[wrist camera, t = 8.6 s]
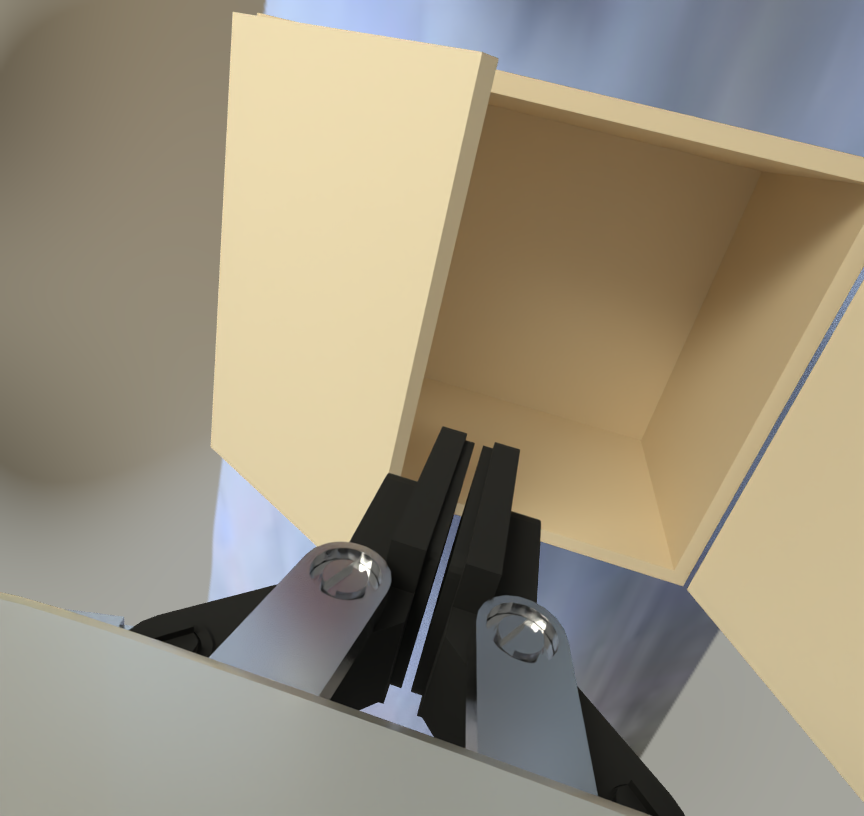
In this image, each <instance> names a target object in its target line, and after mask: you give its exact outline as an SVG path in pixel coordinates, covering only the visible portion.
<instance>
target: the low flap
mask: <svg viewBox="0 0 864 816" xmlns="http://www.w3.org/2000/svg"><path fill="white" fill-rule="evenodd" d="M231 40H232V41H231V58H230V78H229V79H230V80H229V99H228V118H227V137H226V157H225V176H224V196H223V197H224V198H223V217H222V235H221V236H222V237H221V255H220V276H219V295H218V314H217V334H216V353H215V354H216V355H215V374H214V392H213V413H212V431H211V432H212V433H211V448H212V449H214V450H215V451H216V452H217V453H218V454H219V455H220V456H221V457H222V458H223V459H224V460H225V461H226V462H227V463H228V464H230V465H231V466H232V467H233V468H234V469H235V470H236V471H237V472H238V473H239V474H240V475H241V476H242V477H243V478H244V479H246V480H247V481H248V482H249V483H250V484H251V485H252V486H253V487H254V488H255V489H256V490H257V491H258V492H259V493H261V494H262V495H263V496H264V497H265V498H266V499H267V500H268V501H269V502H270V503H271V504H272V505H273V506H274V507H275V508H277V509H278V510H279V511H280V512H281V513H282V514H283V515H284V516H285V517H286V518H287V519H288V520H289V521H290V522H292V523H293V524H294V525H295V526H296V527H297V528H298V529H299V530H300V531H301V532H302V533H303V534H304V535H305V536H306V537H308V538H309V539H310V540H311V541H312V542H313V543H314V544H315V545H316V546H317V547H318V546H320V545H323V544H326V543H331V542H340V541H342V542H349V541H350V540H351V538H352V536H353V534H354V533H355V531H356V529H357V527H358V525H359V524H360V522H361V520H362V518H363V516H364V515H365V513H366V511H367V509H368V507H369V506H370V504H371V502H372V500H373V498H374V497H375V495H376V493H377V491H378V489H379V488H380V486H381V484H382V482H383V480H384V479H385V477H386V475H387V474H388V473H392V474H395V475H398V476H401V473H402V468H403V464H404V460H405V455H406V451H407V447H408V443H409V438H410V434H411V430H412V426H413V421H414V417H415V413H416V409H417V404H418V400H419V396H420V392H421V387H422V383H423V379H424V374H425V370H426V366H427V362H428V357H429V353H430V349H431V345H432V340H433V336H434V332H435V328H436V323H437V319H438V315H439V310H440V306H441V302H442V298H443V293H444V289H445V285H446V281H447V276H448V272H449V268H450V264H451V259H452V255H453V251H454V247H455V242H456V238H457V234H458V229H459V225H460V221H461V217H462V212H463V208H464V204H465V200H466V195H467V191H468V187H469V183H470V178H471V174H472V170H473V166H474V161H475V157H476V153H477V148H478V144H479V140H480V136H481V131H482V127H483V123H484V119H485V114H486V110H487V106H488V102H489V97H490V93H491V89H492V85H493V80H494V76H495V72H496V67H497V63H498V58H496V57H493V56H491V55H488V54H486V53H483V52H479V51H473V50H466V49H460V48H454V47H448V46H441V45H435V44H429V43H423V42H417V41H410V40H404V39H398V38H392V37H385V36H379V35H373V34H367V33H361V32H354V31H348V30H342V29H336V28H329V27H323V26H317V25H311V24H305V23H298V22H292V21H286V20H280V19H273V18H267V17H261V16H255V15H248V14H242V13H236V12H233V20H232V39H231Z"/></svg>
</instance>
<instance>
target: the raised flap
mask: <svg viewBox="0 0 864 816" xmlns="http://www.w3.org/2000/svg"><path fill="white" fill-rule="evenodd" d="M687 590H688V591H689V593H690V594H691V595H692V596H693V597H694V599H695V600H696V601H697V602H698V603H699V605H700V606H701V607H702V608H703V609H704V611H705V612H706V613H707V614H708V616H709V617H710V618H711V619H712V620H713V622H714V623H715V624H716V625H717V626H718V628H719V629H720V630H721V631H722V632H723V634H724V635H725V636H726V637H727V638H728V640H729V641H730V642H731V643H732V644H733V646H734V647H735V648H736V649H737V650H738V652H739V653H740V654H741V655H742V656H743V658H744V659H745V660H746V661H747V663H748V664H749V665H750V666H751V667H752V669H753V670H754V671H755V672H756V673H757V675H758V676H759V677H760V678H761V679H762V680H763V682H764V683H765V684H766V685H767V687H768V688H769V689H770V690H771V691H772V693H773V694H774V695H775V696H776V697H777V698H778V700H779V701H780V702H781V703H782V705H783V706H784V707H785V708H786V709H787V711H788V712H789V713H790V714H791V716H792V717H793V718H794V719H795V720H796V721H797V723H798V724H799V725H800V726H801V728H802V729H803V730H804V731H805V732H806V734H807V735H808V736H809V737H810V738H811V740H812V741H813V742H814V743H815V744H816V746H817V747H818V748H819V749H820V750H821V752H822V753H823V754H824V755H825V756H826V758H827V759H828V760H829V761H830V762H831V764H832V765H833V766H834V767H835V769H836V770H837V771H838V772H839V773H840V775H841V776H842V777H843V778H844V779H845V781H846V782H847V783H848V784H849V785H850V786H851V788H852V789H853V790H854V791H855V793H856V794H857V795H858V796H859V797H860V798H861V800H862V801H863V802H864V280H863V282H862V284H861V285H860V287H859V289H858V291H857V292H856V294H855V296H854V298H853V299H852V301H851V303H850V305H849V306H848V308H847V310H846V312H845V313H844V315H843V317H842V319H841V320H840V322H839V324H838V326H837V327H836V329H835V331H834V333H833V334H832V336H831V338H830V340H829V342H828V343H827V345H826V347H825V349H824V350H823V352H822V354H821V356H820V357H819V359H818V361H817V363H816V364H815V366H814V368H813V370H812V371H811V373H810V375H809V377H808V378H807V380H806V382H805V384H804V385H803V387H802V389H801V391H800V392H799V394H798V396H797V398H796V399H795V401H794V403H793V405H792V406H791V408H790V410H789V412H788V413H787V415H786V417H785V419H784V420H783V422H782V424H781V426H780V427H779V429H778V431H777V433H776V434H775V436H774V438H773V440H772V441H771V443H770V445H769V447H768V448H767V450H766V452H765V454H764V455H763V457H762V459H761V461H760V462H759V464H758V466H757V468H756V469H755V471H754V473H753V475H752V476H751V478H750V480H749V482H748V483H747V485H746V487H745V489H744V490H743V492H742V494H741V496H740V497H739V499H738V501H737V503H736V504H735V506H734V508H733V510H732V511H731V513H730V515H729V517H728V518H727V520H726V522H725V524H724V525H723V527H722V529H721V531H720V532H719V534H718V536H717V538H716V539H715V541H714V543H713V545H712V546H711V548H710V550H709V552H708V553H707V555H706V557H705V559H704V560H703V562H702V564H701V566H700V567H699V569H698V571H697V573H696V574H695V576H694V578H693V580H692V581H691V583H690V585H689V587H688V588H687Z"/></svg>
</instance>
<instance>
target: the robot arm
mask: <svg viewBox="0 0 864 816" xmlns="http://www.w3.org/2000/svg"><path fill="white" fill-rule="evenodd" d="M466 437H467V433H464V432H461V431H457V430H454V429H451V428H447V427H444V426H442V428H441V430H440V433H439V435H438V437H437V439H436V442H435V444H434V446H433V448H432V450H431V453H430V455H429V457H428V459H427V462H426V464H425V466H424V468H423V470H422V473H421V475H420V477H419V479H418V482H417V481H414V480H411V479H408V478H404V477H401V476H398V475H395V474H392V473H388V474H387V475H386V477H385V479H384V480H383V482H382V484H381V486H380V488H379V489H378V491H377V493H376V495H375V497H374V498H373V500H372V502H371V504H370V506H369V507H368V509H367V511H366V513H365V515H364V516H363V518H362V520H361V522H360V524H359V525H358V527H357V529H356V531H355V533H354V534H353V536H352V538H351V540H350V541H349V542H342V541H340V542H331V543H326V544H323V545H320V546H318V547H315V548H314V549H313V550H311V551H310V552H309V553H307V554H306V555H305V556H304V557H303V558H302V559H301V560H300V561H299V563H298V564H297V565H296V566H295V567H294V568H293V569H292V570H291V571H290V572H289V573H288V574H287V575H286V576H285V577H284V578H283V580H282V581H281V582H280V583H279V584H277V585H273V586H269V587H265V588H262V589H258V590H254V591H250V592H246V593H242V594H238V595H234V596H231V597H227V598H223V599H219V600H215V601H211V602H207V603H204V604H199V605H196V606H192V607H188V608H184V609H181V610H176V611H172V612H169V613H165V614H161V615H157V616H155V617H152V618H150V619H147V620H144V621H142V622H140V623H139V624H137V625H136V626H127V625H124V617H120V616H113V615H105V614H98V613H90V612H82V611H74V610H67V609H61V608H58V607H54V606H51V605H47V604H44V603H41V602H37V601H33V600H30V599H27V598H23V597H20V596H16V595H11V594H6V593H2V592H0V816H685V815H684V813H683V811H682V810H681V809H680V807H679V806H678V804H677V803H676V801H675V800H674V799H673V797H672V796H671V795H670V793H669V792H668V791H667V790H666V789H665V788H664V786H663V785H662V784H661V783H660V782H659V781H658V779H657V778H656V777H655V776H654V775H653V774H652V772H651V771H650V770H649V769H648V768H647V767H646V766H645V764H644V763H643V762H642V761H641V760H640V758H639V757H638V756H637V755H636V754H635V753H634V752H633V750H632V749H631V748H630V747H629V746H628V745H627V743H626V742H625V741H624V740H623V739H622V738H621V736H620V735H619V734H618V733H617V732H616V731H615V729H614V728H613V727H612V726H611V725H610V724H609V723H608V721H607V720H606V719H605V718H604V717H603V716H602V714H601V713H600V712H599V711H598V710H597V709H596V707H595V706H594V705H593V704H592V703H591V702H590V700H589V699H588V698H587V697H586V696H585V695H584V694H583V692H582V691H581V690H580V689H579V688H578V687H577V684H576V679H575V673H574V668H573V663H572V658H571V652H570V647H569V642H568V639H567V636H566V633H565V631H564V629H563V627H562V626H561V624H560V623H559V622H558V620H557V619H556V618H555V617H554V616H553V615H552V614H551V613H550V612H549V611H547V610H546V609H545V608H544V607H542V606H540V605H538V604H537V588H538V571H539V555H540V538H541V521H540V520H539V519H536V518H532V517H529V516H526V515H523V514H520V513H516V512H513V511H511V509H512V503H513V496H514V489H515V482H516V475H517V469H518V462H519V455H520V449H517V448H514V447H510V446H507V445H504V444H500V443H497V442H495V443H494V446H493V448H490V447H487V446H484V445H483V448H482V451H481V454H480V457H479V461H478V464H477V467H476V470H475V474H474V477H473V480H472V484H471V487H470V490H469V493H468V497H467V500H466V503H465V507H464V510H463V513H462V516H461V520H460V523H459V526H458V530H457V533H456V536H455V539H454V543H453V546H452V549H451V553H450V556H449V560H448V563H447V567H446V570H445V574H444V577H443V581H442V584H441V588H440V591H439V595H438V598H437V602H436V605H435V609H434V612H433V616H432V619H431V623H430V626H429V630H428V633H427V637H426V640H425V644H424V647H423V651H422V654H421V658H420V661H419V665H418V668H417V672H416V675H415V679H414V682H413V686H412V689H411V692H414V693H417V694H419V695H422V698H421V702H420V706H419V710H418V713H417V716H420V717H422V718H423V720H424V721H425V723H426V725H427V726H428V728H429V730H430V731H431V733H432V734H433V736H434V737H432V736H429V735H426V734H423V733H420V732H418V731H415V730H412V729H409V728H406V727H404V726H401V725H398V724H395V723H392V722H390V721H387V720H384V719H381V718H378V717H375V716H373V715H370V714H367V713H364V712H361V711H359V710H361V709H363V708H366V707H368V706H370V705H373V704H375V703H378V702H380V703H383V704H384V701H385V698H386V694H387V691H388V688H389V685H390V684H391V685H394V686H397V687H399V688H401V687H402V684H403V681H404V678H405V674H406V671H407V668H408V664H409V661H410V658H411V655H412V651H413V648H414V645H415V642H416V638H417V635H418V632H419V628H420V625H421V622H422V619H423V615H424V612H425V609H426V606H427V602H428V599H429V596H430V592H431V589H432V586H433V583H434V579H435V576H436V573H437V569H438V566H439V563H440V560H441V556H442V553H443V550H444V546H445V543H446V540H447V536H448V533H449V530H450V526H451V523H452V519H453V516H454V513H455V509H456V506H457V503H458V499H459V496H460V492H461V489H462V486H463V482H464V479H465V476H466V472H467V469H468V466H469V462H470V459H471V455H472V452H473V449H474V445H475V443H474V442H470V441H467V440H466Z"/></svg>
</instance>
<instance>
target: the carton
mask: <svg viewBox="0 0 864 816" xmlns="http://www.w3.org/2000/svg"><path fill="white" fill-rule="evenodd" d="M257 16H261V17H267V18H273V19H280V20H286V19H282V18H277V17H273V16H269V15H265V14H261V13H257ZM286 21H290V20H286ZM292 22H294V21H292ZM863 267H864V157H861V156H856V155H852V154H848V153H844V152H840V151H835V150H831V149H827V148H823V147H819V146H814V145H810V144H806V143H802V142H798V141H793V140H789V139H785V138H781V137H777V136H772V135H768V134H764V133H760V132H756V131H751V130H747V129H743V128H739V127H735V126H730V125H726V124H722V123H718V122H714V121H710V120H705V119H701V118H697V117H693V116H689V115H684V114H680V113H676V112H672V111H668V110H663V109H659V108H655V107H651V106H647V105H642V104H638V103H634V102H630V101H626V100H621V99H617V98H613V97H609V96H605V95H600V94H596V93H592V92H588V91H584V90H579V89H575V88H571V87H567V86H563V85H558V84H554V83H550V82H546V81H542V80H538V79H533V78H529V77H525V76H521V75H517V74H512V73H508V72H504V71H500V70H496V72H495V76H494V80H493V85H492V89H491V93H490V97H489V102H488V106H487V110H486V114H485V119H484V123H483V127H482V131H481V136H480V140H479V144H478V148H477V153H476V157H475V161H474V166H473V170H472V174H471V178H470V183H469V187H468V191H467V195H466V200H465V204H464V208H463V212H462V217H461V221H460V225H459V229H458V234H457V238H456V242H455V247H454V251H453V255H452V259H451V264H450V268H449V272H448V276H447V281H446V285H445V289H444V293H443V298H442V302H441V306H440V310H439V315H438V319H437V323H436V328H435V332H434V336H433V340H432V345H431V349H430V353H429V357H428V362H427V366H426V370H425V374H424V379H423V383H422V387H421V392H420V396H419V400H418V404H417V409H416V413H415V417H414V421H413V426H412V430H411V434H410V438H409V443H408V447H407V451H406V455H405V460H404V464H403V468H402V473H401V477H404V478H408V479H411V480H414V481H417V482H418V479H419V477H420V475H421V473H422V470H423V468H424V466H425V464H426V462H427V459H428V457H429V455H430V453H431V450H432V448H433V446H434V444H435V442H436V439H437V437H438V435H439V433H440V430H441V428H442V426H444V427H447V428H451V429H454V430H457V431H461V432H464V433H467V437H466V440H467V441H470V442H474V443H475V445H474V449H473V452H472V455H471V459H470V462H469V466H468V469H467V472H466V476H465V479H464V482H463V486H462V489H461V492H460V496H459V499H458V503H457V506H456V509H455V513H454V514H455V515H459V516H462V513H463V510H464V507H465V503H466V500H467V497H468V493H469V490H470V487H471V484H472V480H473V477H474V474H475V470H476V467H477V464H478V461H479V457H480V454H481V451H482V448H483V445H484V446H487V447H490V448H493V446H494V443H495V442H497V443H500V444H504V445H507V446H510V447H514V448H517V449H520V455H519V462H518V469H517V475H516V482H515V489H514V496H513V503H512V509H511V511H513V512H516V513H520V514H523V515H526V516H529V517H532V518H536V519H539V520H540V521H541V538H540V541H541V542H544V543H547V544H551V545H554V546H557V547H560V548H563V549H566V550H570V551H573V552H576V553H579V554H582V555H585V556H589V557H592V558H595V559H598V560H601V561H604V562H608V563H611V564H614V565H617V566H620V567H623V568H627V569H630V570H633V571H636V572H639V573H643V574H646V575H649V576H652V577H655V578H658V579H662V580H665V581H668V582H671V583H674V584H677V585H681V586H683V585H684V584H685V582H686V580H687V578H688V576H689V575H690V573H691V571H692V569H693V568H694V566H695V564H696V562H697V561H698V559H699V557H700V555H701V553H702V552H703V550H704V548H705V546H706V545H707V543H708V541H709V539H710V538H711V536H712V534H713V532H714V530H715V529H716V527H717V525H718V523H719V522H720V520H721V518H722V516H723V515H724V513H725V511H726V509H727V507H728V506H729V504H730V502H731V500H732V499H733V497H734V495H735V493H736V492H737V490H738V488H739V486H740V484H741V483H742V481H743V479H744V477H745V476H746V474H747V472H748V470H749V469H750V467H751V465H752V463H753V461H754V460H755V458H756V456H757V454H758V453H759V451H760V449H761V447H762V445H763V444H764V442H765V440H766V438H767V437H768V435H769V433H770V431H771V430H772V428H773V426H774V424H775V422H776V421H777V419H778V417H779V415H780V414H781V412H782V410H783V408H784V407H785V405H786V403H787V401H788V399H789V398H790V396H791V394H792V392H793V391H794V389H795V387H796V385H797V384H798V382H799V380H800V378H801V376H802V375H803V373H804V371H805V369H806V368H807V366H808V364H809V362H810V361H811V359H812V357H813V355H814V353H815V352H816V350H817V348H818V346H819V345H820V343H821V341H822V339H823V338H824V336H825V334H826V332H827V330H828V329H829V327H830V325H831V323H832V322H833V320H834V318H835V316H836V315H837V313H838V311H839V309H840V307H841V306H842V304H843V302H844V300H845V299H846V297H847V295H848V293H849V292H850V290H851V288H852V286H853V284H854V283H855V281H856V279H857V277H858V276H859V274H860V272H861V270H862V268H863Z"/></svg>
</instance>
